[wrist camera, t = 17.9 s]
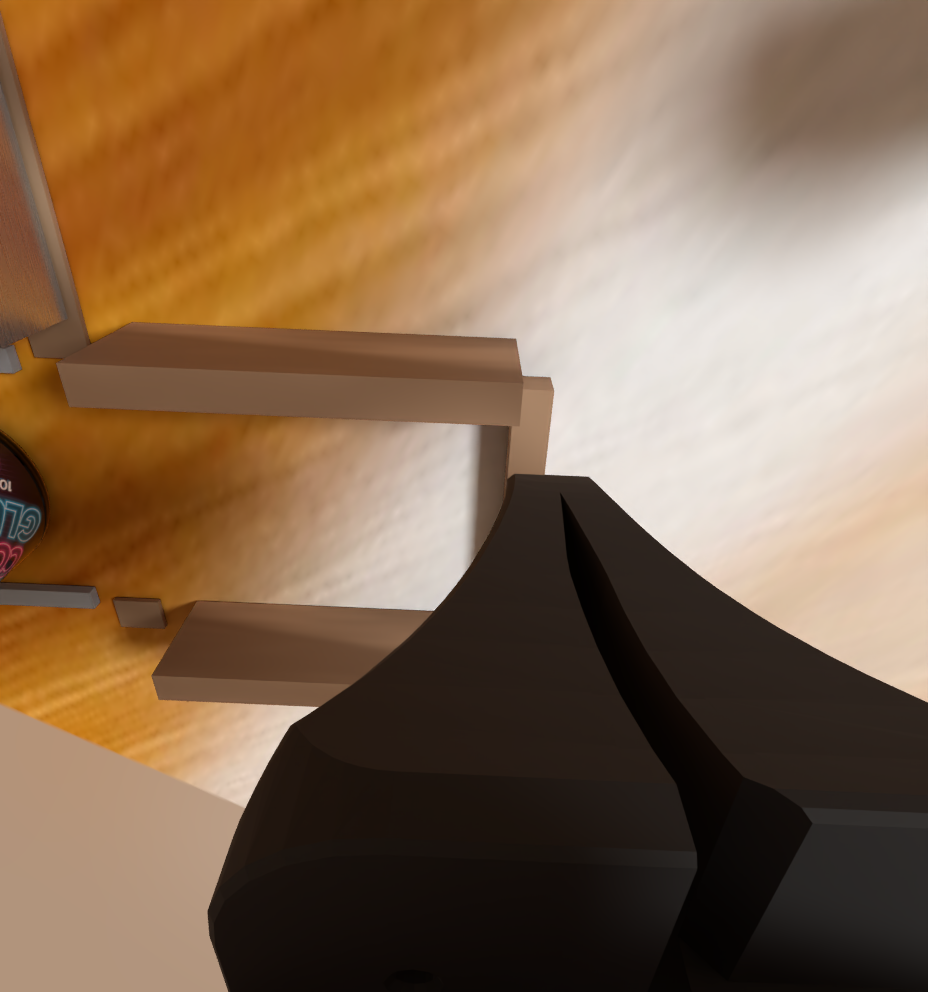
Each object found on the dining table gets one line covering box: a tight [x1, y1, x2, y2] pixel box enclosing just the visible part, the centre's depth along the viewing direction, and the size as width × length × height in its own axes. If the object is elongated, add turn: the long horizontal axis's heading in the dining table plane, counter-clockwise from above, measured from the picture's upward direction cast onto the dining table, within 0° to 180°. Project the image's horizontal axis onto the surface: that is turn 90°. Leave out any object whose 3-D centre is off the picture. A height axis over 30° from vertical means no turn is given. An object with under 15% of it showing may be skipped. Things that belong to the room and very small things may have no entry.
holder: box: [0, 13, 554, 707], centre depth 17 cm, size 27×16×4 cm, turn 178°
